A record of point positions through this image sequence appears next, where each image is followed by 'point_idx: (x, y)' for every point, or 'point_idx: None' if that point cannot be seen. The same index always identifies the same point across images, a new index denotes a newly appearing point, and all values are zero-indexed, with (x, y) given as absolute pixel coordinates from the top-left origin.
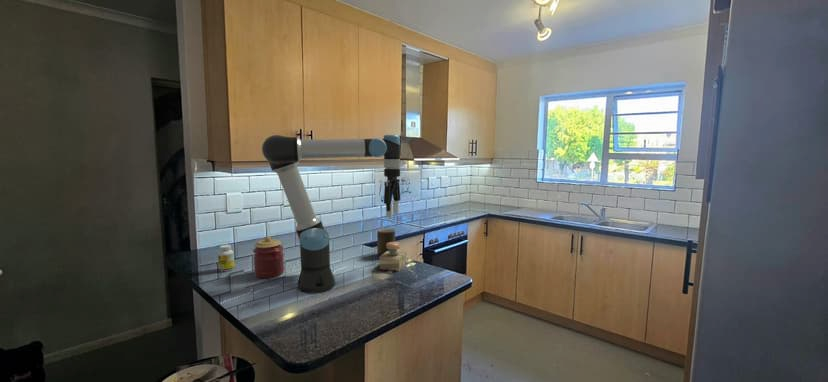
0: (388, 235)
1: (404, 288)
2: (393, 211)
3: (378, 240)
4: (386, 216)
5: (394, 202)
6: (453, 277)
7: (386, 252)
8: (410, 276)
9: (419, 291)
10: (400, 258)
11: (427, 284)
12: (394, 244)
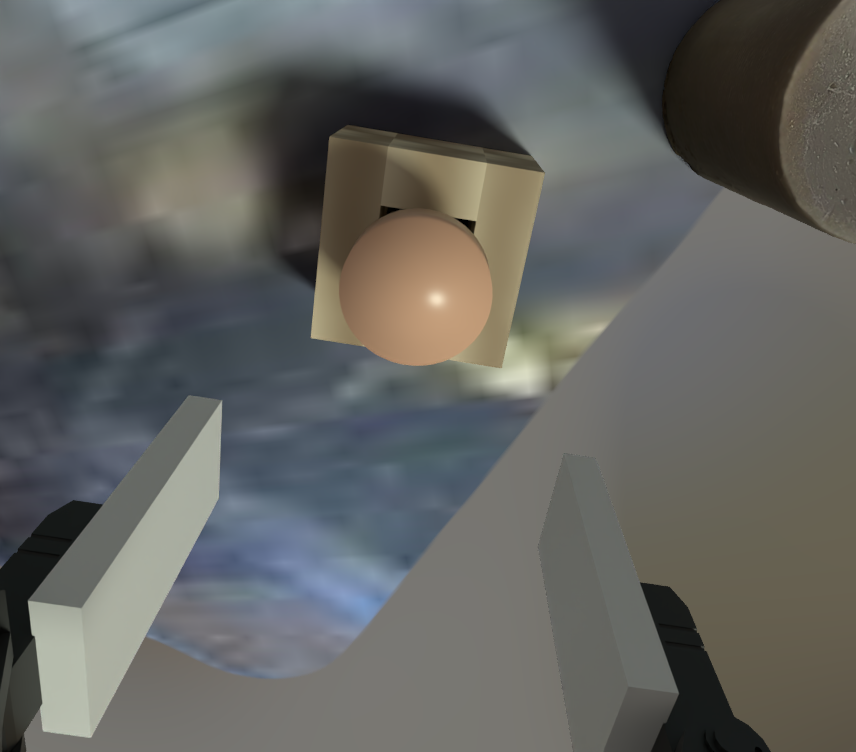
0: (761, 168)
1: (39, 388)
2: (567, 496)
3: (780, 2)
4: (179, 411)
5: (605, 687)
6: (299, 624)
7: (483, 177)
8: (248, 394)
9: (33, 474)
10: (349, 340)
11: None
12: (385, 319)
